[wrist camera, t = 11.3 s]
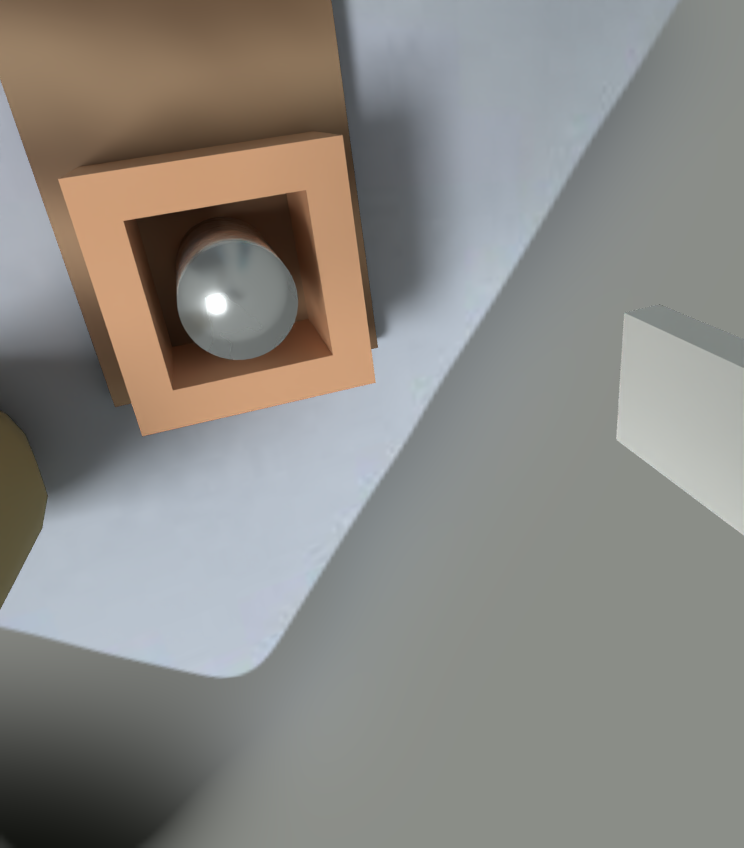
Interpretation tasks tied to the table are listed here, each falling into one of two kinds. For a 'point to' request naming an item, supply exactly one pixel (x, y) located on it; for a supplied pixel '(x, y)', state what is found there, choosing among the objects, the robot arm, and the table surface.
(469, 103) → the table surface
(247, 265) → the post
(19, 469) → the squeeze bottle
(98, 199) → the collar
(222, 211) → the board
